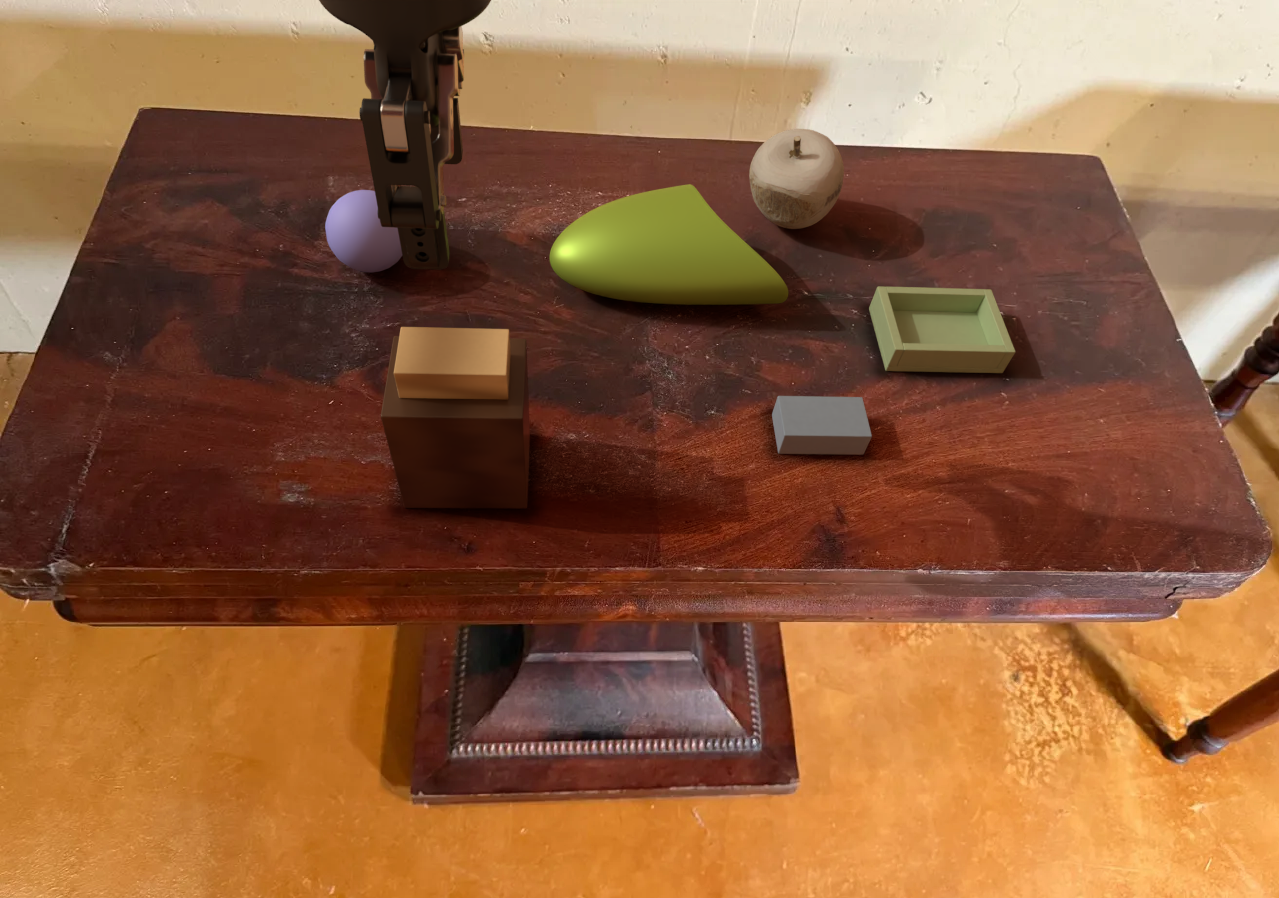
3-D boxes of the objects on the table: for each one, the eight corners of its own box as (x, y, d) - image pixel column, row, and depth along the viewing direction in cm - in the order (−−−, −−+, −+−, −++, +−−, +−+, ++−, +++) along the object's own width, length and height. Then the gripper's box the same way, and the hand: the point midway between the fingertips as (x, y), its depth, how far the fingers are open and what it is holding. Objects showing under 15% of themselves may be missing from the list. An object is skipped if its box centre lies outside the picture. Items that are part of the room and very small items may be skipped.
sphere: (346, 297, 77) (329, 235, 71) (325, 246, 81) (307, 183, 75) (424, 277, 79) (414, 215, 74) (400, 228, 83) (389, 165, 77)
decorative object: (834, 202, 90) (861, 115, 82) (822, 258, 85) (850, 170, 77) (749, 183, 91) (767, 94, 83) (732, 237, 86) (751, 148, 78)
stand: (530, 433, 70) (526, 338, 61) (527, 509, 66) (522, 418, 57) (414, 432, 69) (393, 335, 60) (404, 508, 65) (380, 416, 56)
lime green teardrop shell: (765, 155, 78) (539, 178, 76) (796, 269, 73) (555, 296, 72) (752, 213, 85) (545, 235, 84) (779, 321, 80) (560, 346, 79)
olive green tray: (979, 311, 82) (991, 289, 80) (1002, 373, 78) (1016, 352, 76) (868, 308, 81) (877, 286, 79) (885, 371, 77) (895, 349, 75)
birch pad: (510, 354, 60) (509, 328, 58) (508, 400, 58) (506, 375, 56) (405, 352, 60) (400, 326, 58) (398, 398, 57) (393, 373, 55)
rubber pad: (854, 415, 74) (862, 396, 72) (863, 454, 71) (872, 436, 69) (771, 414, 73) (777, 395, 71) (777, 454, 71) (784, 435, 69)
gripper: (476, -29, 30) (499, 307, 44) (499, -192, 39) (513, 132, 52) (250, -43, 30) (343, 303, 43) (322, -206, 38) (381, 126, 51)
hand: (436, 209), depth 47 cm, fingers open, 8 cm apart
